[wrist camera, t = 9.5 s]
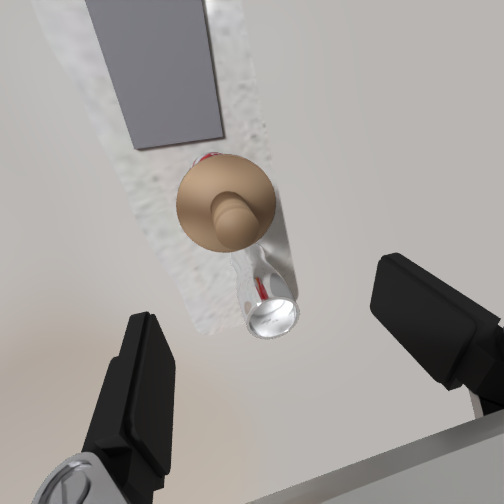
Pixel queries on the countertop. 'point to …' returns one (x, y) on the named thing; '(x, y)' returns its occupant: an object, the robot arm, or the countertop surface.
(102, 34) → the mat
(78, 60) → the countertop surface
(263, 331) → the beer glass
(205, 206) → the lid
